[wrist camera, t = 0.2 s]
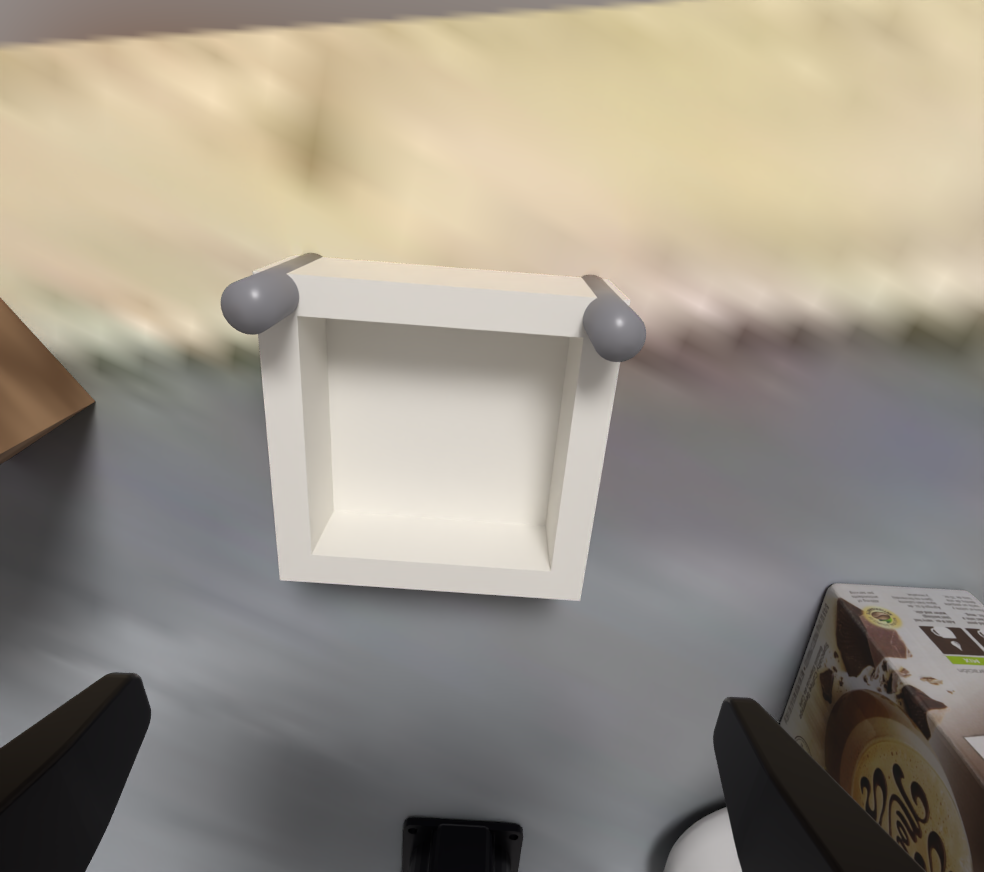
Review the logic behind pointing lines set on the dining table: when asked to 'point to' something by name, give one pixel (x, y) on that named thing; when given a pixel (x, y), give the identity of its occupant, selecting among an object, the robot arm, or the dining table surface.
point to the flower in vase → (705, 847)
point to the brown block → (31, 387)
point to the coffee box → (900, 714)
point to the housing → (435, 420)
